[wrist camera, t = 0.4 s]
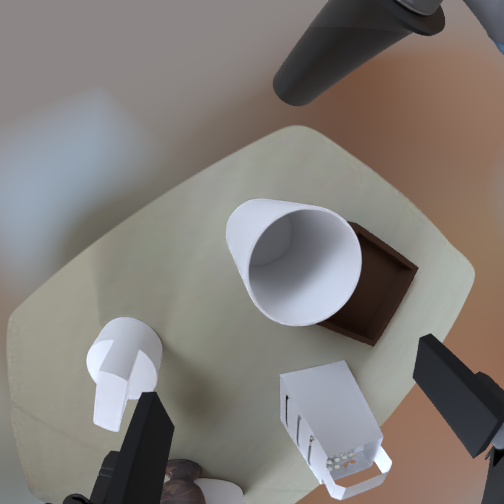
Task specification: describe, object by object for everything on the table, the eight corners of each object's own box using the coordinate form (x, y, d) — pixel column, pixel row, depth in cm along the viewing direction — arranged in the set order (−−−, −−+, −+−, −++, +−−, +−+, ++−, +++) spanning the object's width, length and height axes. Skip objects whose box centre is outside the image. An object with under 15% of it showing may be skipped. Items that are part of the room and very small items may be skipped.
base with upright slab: (106, 307, 32) (70, 355, 20) (170, 330, 34) (159, 389, 22) (97, 359, 33) (69, 413, 22) (154, 380, 35) (143, 441, 24)
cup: (264, 279, 35) (310, 345, 19) (211, 239, 32) (217, 283, 17) (306, 227, 34) (381, 256, 19) (255, 184, 32) (301, 178, 16)
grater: (338, 405, 42) (390, 487, 23) (280, 419, 40) (317, 515, 21) (344, 359, 40) (415, 446, 20) (280, 374, 38) (328, 482, 19)
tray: (295, 308, 36) (303, 318, 33) (344, 220, 35) (356, 223, 32) (363, 336, 39) (373, 346, 36) (405, 262, 38) (418, 267, 35)
